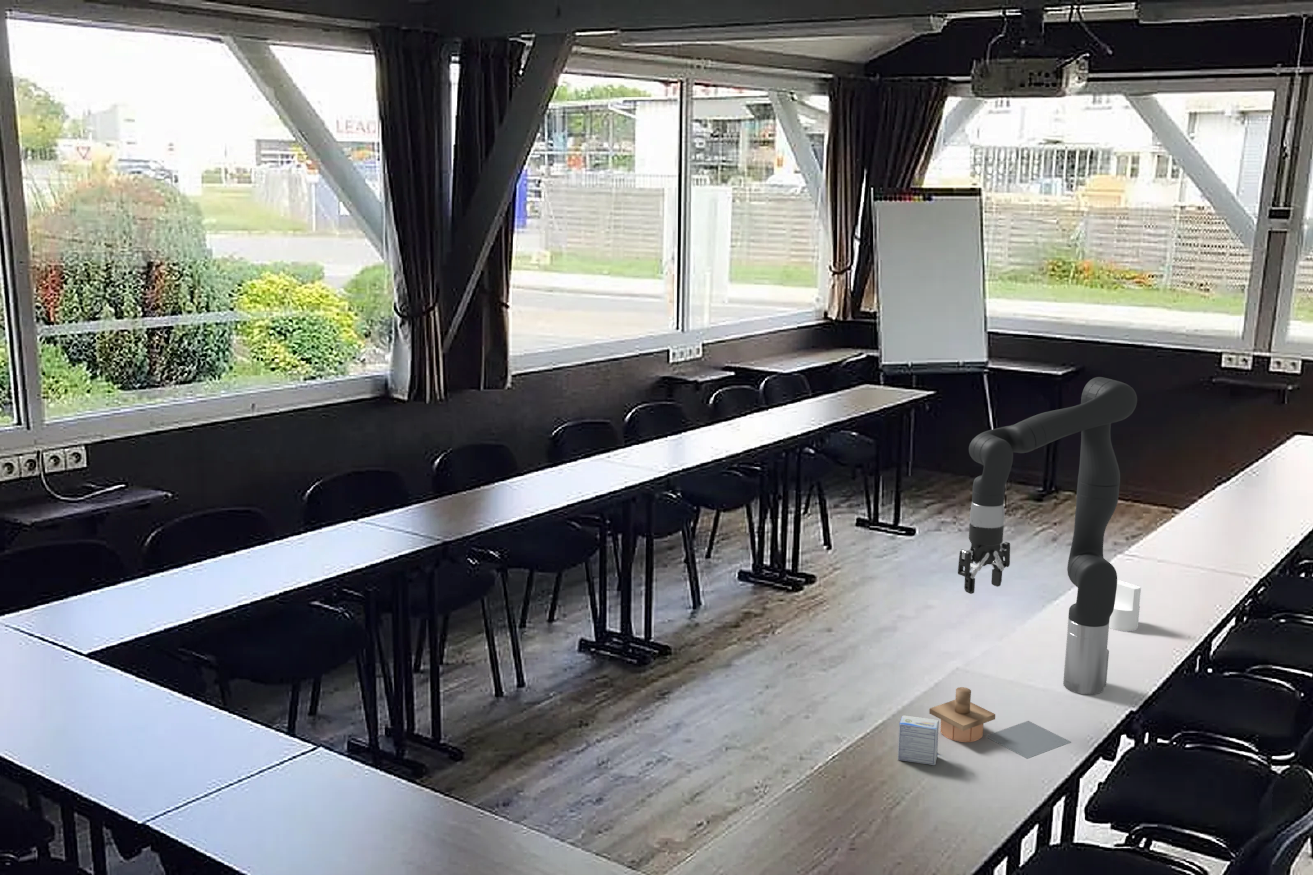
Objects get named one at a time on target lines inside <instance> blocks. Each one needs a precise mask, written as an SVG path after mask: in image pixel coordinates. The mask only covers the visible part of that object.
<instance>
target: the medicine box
mask: <svg viewBox="0 0 1313 875" xmlns="http://www.w3.org/2000/svg"><path fill="white" fill-rule="evenodd" d="M939 729H940V722H939V720H938V719H932V718H927V717H920V716H919V717H918V716H911V715H905V714H904V715H902V716H901V719H900V721H899V724H898V745H897V746H898V750H897V761H902V762H910V763H917V764H923V765H929V766H936V764H937V763H936V762H937V758H938V747H939Z"/></svg>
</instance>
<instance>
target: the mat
mask: <svg viewBox="0 0 1313 875" xmlns="http://www.w3.org/2000/svg"><path fill="white" fill-rule="evenodd" d="M984 737H986V738H987V739H989V740H991V741H992V742H995V743H996V744H998V745H999V746H1002V747H1004V748H1005V749H1008V750H1010V751H1012V752H1013V753H1015V754H1018V755H1019V756H1021V757H1023V758H1025V759H1031V758H1032V757H1036V756H1039V755H1041V754H1044V753H1046V752H1049V751H1052V750H1054V749H1057V748H1060V747H1062V746H1065V745H1068V744H1071V743H1072V740H1068V739H1066V738H1065V737H1062V736H1061V735H1059V734H1056V733H1054V732H1052V731H1051V730H1048V729H1046V728H1044V727H1042V726H1041V725H1038V724H1037V723H1034V722H1033V721H1030V720H1026V721H1024V722H1020V723H1018V724H1016V725H1012V726H1009V727H1006V728H1004V729H1001V730H999V731H996V732H992V733H989V734H987V735H984Z"/></svg>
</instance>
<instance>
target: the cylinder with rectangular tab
mask: <svg viewBox="0 0 1313 875" xmlns="http://www.w3.org/2000/svg"><path fill="white" fill-rule="evenodd" d="M1141 591H1142V586H1139V585H1136V584H1133V583H1131V582H1126V581H1123V580H1120V579H1117V590H1116V597H1115V605H1114V610H1113V612H1112V614H1111V616H1110V620H1109V630H1113V631H1118V632H1134V631H1136V630H1138V629H1139V620H1140V618H1139V617H1140V608H1141V606H1140V602H1141Z"/></svg>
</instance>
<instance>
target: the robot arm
mask: <svg viewBox="0 0 1313 875" xmlns="http://www.w3.org/2000/svg"><path fill="white" fill-rule="evenodd" d="M1080 399H1081V400H1080V403H1079V404H1076V405H1074V406H1069V407H1064V408H1060V409H1059V408H1058V409H1055V410H1049V411H1045V412H1041V413H1038V414H1036V415H1035V414H1034V415H1033V416H1029V417H1027V418H1025V419H1023V420H1021V421H1018V422H1017V423H1015V424H1011V425H1006V426H1001V427H997V428H993V429H989V430H986V431H983V432H981V433H979V434H977V435H976V436H975V437H974V438H972V440H971V442H970V443H969V446H968V453H969V456H970V457H971V459H972V460H973V461H974V462H976V463H978V464H979V465H981V466H983V470H982V474H981V475H979V476H977V477H975V478H974V480H973V484H972V495H971V505H970V511H969V525H968V526H969V528H968V539H969V542H970V544H971V545H970V548H969V549H967V550H966V549H960V551H959V554H958V555H959V556H958V567H957V574H958V575H959V576H962V577H964V586H963V587H964V592H966V594H971V595H972V594H975V588H976V587H975V585H976V578H975V577H976V575H977V573H978V572H979V571H981V570H982V568H983V567H986V566H987V565H991V567H992V568H993V569H991V585H992V586H994V587H997V588H998V587H1000V586H1001V584H1002V581H1003V571H1004V570H1005V568H1009V567H1010V565H1011V543H1010V542H1008V541H1005V540H1004V527H1005V492H1006V491H1005V490H1006V484H1007V481H1008V479H1009V475H1010V472H1011V469H1012V466H1013V461H1014V453H1018V454H1025V453H1030V452H1032V451H1034V450H1037V449H1038V448H1039V449H1040V448H1041V447H1043V446H1046V445H1048V444H1050V443H1052V442H1055V441H1057V440H1060V439H1063V438H1065V437H1068V436H1071V435H1074V434H1077V433H1079V432H1081V433H1080V434H1081V436H1080V437H1081V438H1080V439H1081V440H1080V456H1079V468H1078V476H1077V487H1076V503H1075V513H1074V514H1075V515H1074V527H1073V528H1074V529H1073V537H1072V541H1071V547H1070V551H1069V556H1068V559H1067V560H1068V561H1067V568H1066V570H1067V576H1068V579H1069V580H1070V582H1071V584H1073V585H1074V586H1075V587H1076V588H1077V594H1076V595H1077V596H1076V602H1075V603H1073V604H1071V605H1070V607H1069V608H1068V620H1067V633H1066V643H1065V644H1066V645H1065V657H1064V670H1063V681H1062V682H1063V687H1064V688H1066V689H1067V690H1068V691H1070V692H1073V693H1077V694H1082V695H1098V694H1100V693H1102V692H1103V691H1104V689H1105V687H1107V680H1108V666H1109V656H1110V650H1109V649H1108V643H1109V642H1108V641H1109V630H1110V628H1109V620H1110V616H1111V614H1112V612H1113V610H1114V605H1115V597H1116V590H1117V580H1118V573H1117V570H1116V568H1115V567H1114V566H1113V564H1112V563H1110V561H1108V560H1107V559H1106V558H1104V539H1105V532H1106V530H1107V529H1106V528H1107V526H1108V524H1109V522H1110V520H1111V519H1112V517H1113V515H1114V513H1115V511H1116V508H1117V505H1118V502H1119V496H1120V487H1121V486H1120V485H1121V472H1120V467H1119V464H1118V461H1117V457H1116V454H1115V451H1114V448H1113V444H1112V439H1111V426H1112V424H1113V423H1117V422H1121V421H1124V420H1125V419H1127V418H1129V417H1131V415H1132V414H1133V413H1134V411H1135V409H1136V407H1137V405H1138V404H1137V403H1138V396H1137V393H1136V391H1135V390H1134V388H1133V387H1131V385H1129V384H1127V383H1124V382H1122V381H1119V380H1115V379H1111V378H1108V377H1102V376H1096V377H1093V378H1092V379H1090V380H1089V381H1088V382H1087V383H1086V384H1085V386H1084V388H1083V390H1082V393H1081V397H1080ZM974 563H975V564H974Z"/></svg>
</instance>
